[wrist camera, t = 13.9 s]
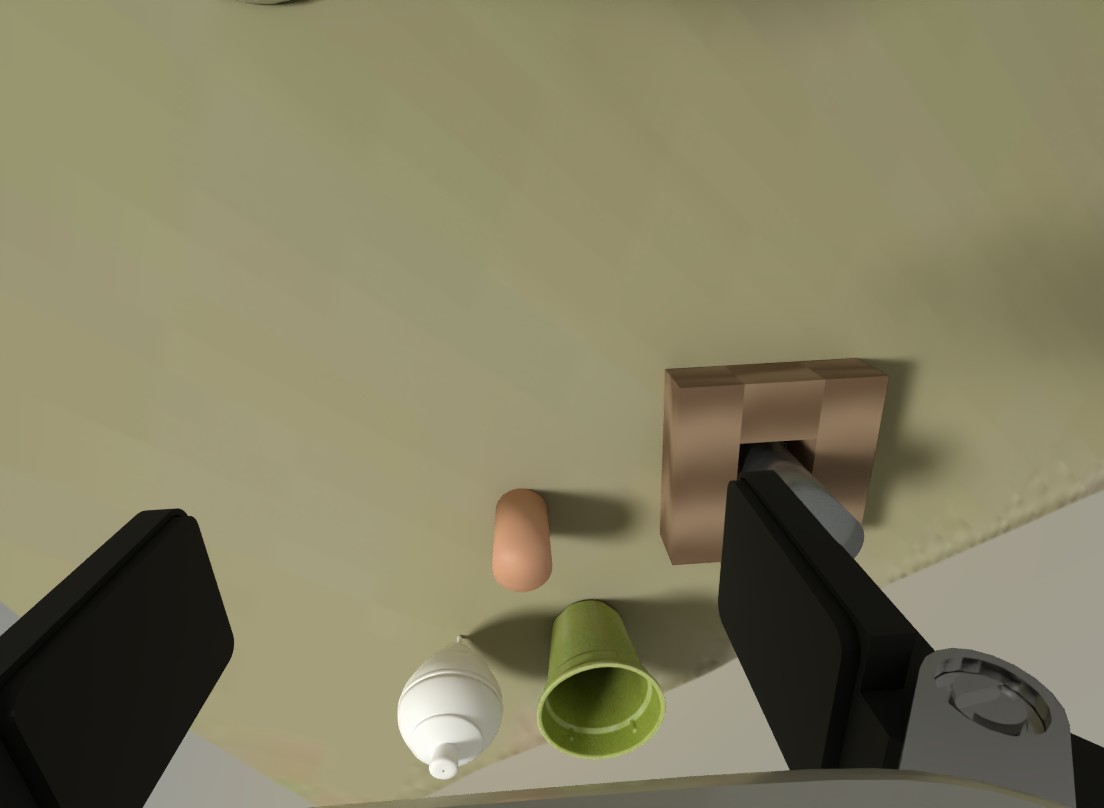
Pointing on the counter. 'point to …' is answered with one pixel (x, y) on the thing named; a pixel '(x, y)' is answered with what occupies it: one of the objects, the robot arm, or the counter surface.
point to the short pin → (521, 541)
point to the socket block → (762, 438)
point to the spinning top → (450, 709)
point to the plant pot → (597, 686)
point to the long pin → (804, 490)
